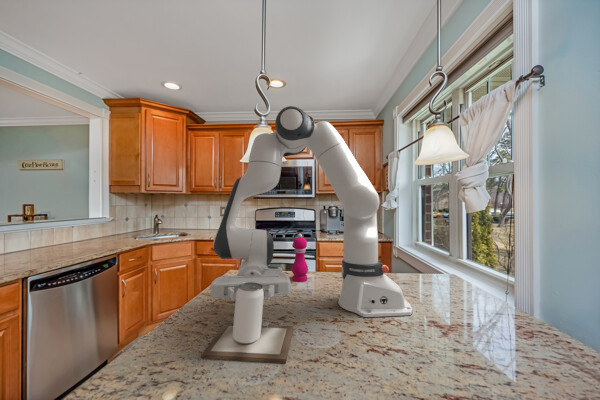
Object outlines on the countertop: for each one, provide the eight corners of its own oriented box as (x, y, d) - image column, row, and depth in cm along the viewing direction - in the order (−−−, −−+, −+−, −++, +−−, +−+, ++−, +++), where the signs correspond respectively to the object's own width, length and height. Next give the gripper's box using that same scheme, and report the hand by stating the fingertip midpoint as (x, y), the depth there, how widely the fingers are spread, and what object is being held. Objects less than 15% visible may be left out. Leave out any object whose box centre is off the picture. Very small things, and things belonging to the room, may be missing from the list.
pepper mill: (308, 277, 111) (308, 232, 111) (307, 282, 104) (307, 234, 104) (292, 277, 112) (292, 232, 112) (290, 282, 105) (290, 234, 105)
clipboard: (293, 328, 65) (293, 323, 65) (285, 363, 51) (285, 355, 51) (226, 325, 67) (226, 320, 67) (201, 358, 52) (201, 350, 52)
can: (233, 329, 61) (237, 281, 61) (259, 329, 62) (263, 281, 62) (231, 345, 55) (236, 291, 55) (261, 344, 56) (265, 291, 56)
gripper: (214, 269, 70) (204, 284, 56) (287, 267, 73) (294, 281, 60) (214, 291, 70) (204, 313, 56) (286, 288, 73) (293, 307, 60)
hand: (251, 296), depth 58 cm, fingers open, 6 cm apart
